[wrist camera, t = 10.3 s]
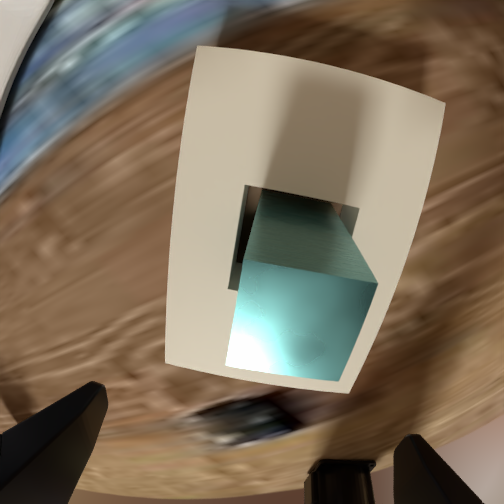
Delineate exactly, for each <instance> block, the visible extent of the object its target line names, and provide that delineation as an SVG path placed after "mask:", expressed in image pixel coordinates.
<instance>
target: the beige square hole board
mask: <svg viewBox="0 0 504 504" xmlns="http://www.w3.org/2000/svg"><path fill="white" fill-rule="evenodd" d="M445 104H446V103H444V102H441V101H439V100H436V99H434V98H431V97H429V96H426V95H424V94H421V93H419V92H416V91H413V90H410V89H408V88H405V87H402V86H399V85H396V84H393V83H390V82H387V81H384V80H381V79H378V78H374V77H371V76H368V75H364V74H361V73H357V72H354V71H350V70H346V69H342V68H339V67H335V66H330V65H326V64H322V63H317V62H313V61H308V60H303V59H298V58H293V57H288V56H282V55H276V54H270V53H263V52H256V51H249V50H241V49H232V48H222V47H210V46H197V50H196V55H195V61H194V66H193V71H192V77H191V82H190V88H189V94H188V100H187V106H186V112H185V119H184V126H183V132H182V140H181V147H180V154H179V162H178V170H177V179H176V188H175V197H174V207H173V217H172V228H171V241H170V254H169V269H168V286H167V307H166V338H165V363H168V364H172V365H176V366H180V367H184V368H188V369H193V370H197V371H202V372H207V373H211V374H216V375H221V376H226V377H231V378H237V379H242V380H248V381H254V382H260V383H266V384H272V385H279V386H286V387H293V388H301V389H309V390H317V391H327V392H337V393H348V394H349V392H350V390H351V388H352V386H353V384H354V382H355V380H356V378H357V376H358V374H359V372H360V370H361V368H362V366H363V364H364V362H365V360H366V357H367V355H368V353H369V351H370V349H371V347H372V344H373V342H374V340H375V338H376V335H377V333H378V331H379V328H380V326H381V324H382V321H383V319H384V317H385V314H386V312H387V309H388V307H389V304H390V302H391V299H392V297H393V294H394V291H395V289H396V286H397V284H398V281H399V278H400V275H401V273H402V270H403V267H404V264H405V261H406V258H407V256H408V253H409V250H410V247H411V244H412V240H413V237H414V234H415V231H416V228H417V224H418V221H419V218H420V214H421V211H422V207H423V204H424V200H425V197H426V193H427V189H428V185H429V181H430V177H431V173H432V169H433V165H434V161H435V156H436V152H437V147H438V142H439V137H440V132H441V127H442V122H443V116H444V110H445ZM249 185H250V186H256V187H261V188H267V189H272V190H277V191H282V192H287V193H292V194H297V195H302V196H307V197H312V198H317V199H321V200H326V201H331V202H335V203H340V204H343V206H342V210H341V214H340V219H341V221H342V222H343V224H344V226H345V227H346V229H347V230H348V232H349V234H350V235H351V237H352V239H353V240H354V242H355V244H356V245H357V247H358V249H359V250H360V252H361V254H362V256H363V257H364V259H365V261H366V262H367V264H368V266H369V268H370V269H371V271H372V273H373V275H374V276H375V278H376V280H377V282H378V286H377V289H376V292H375V295H374V297H373V300H372V303H371V305H370V308H369V311H368V313H367V316H366V318H365V321H364V324H363V326H362V329H361V331H360V334H359V336H358V338H357V341H356V343H355V346H354V348H353V350H352V353H351V355H350V357H349V360H348V362H347V364H346V366H345V369H344V371H343V373H342V375H341V378H340V380H339V382H337V381H327V380H318V379H310V378H302V377H295V376H287V375H281V374H274V373H267V372H261V371H255V370H249V369H244V368H238V367H233V366H228V365H226V361H227V355H228V349H229V343H230V337H231V331H232V325H233V319H234V313H235V307H236V301H237V295H238V289H239V283H240V277H241V271H242V265H243V263H238V262H236V260H237V254H238V248H239V242H240V236H241V230H242V224H243V218H244V212H245V207H246V201H247V195H248V189H249Z"/></svg>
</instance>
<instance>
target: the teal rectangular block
mask: <svg viewBox="0 0 504 504" xmlns="http://www.w3.org/2000/svg"><path fill="white" fill-rule="evenodd" d="M377 286H378V282H377V280H376V278H375V276H374V275H373V273H372V271H371V269H370V268H369V266H368V264H367V262H366V261H365V259H364V257H363V256H362V254H361V252H360V250H359V249H358V247H357V245H356V244H355V242H354V240H353V239H352V237H351V235H350V234H349V232H348V230H347V229H346V227H345V226H344V224H343V222H342V221H341V219H340V217H339V216H338V214H337V213H336V211H335V209H334V208H333V206H332V205H331V203H327V202H322V201H317V200H313V199H308V198H303V197H298V196H293V195H287V194H282V193H277V192H272V191H266V190H262V192H261V196H260V200H259V203H258V207H257V211H256V214H255V218H254V222H253V226H252V229H251V233H250V237H249V240H248V244H247V248H246V252H245V255H244V259H243V265H242V271H241V277H240V283H239V289H238V295H237V301H236V307H235V313H234V319H233V325H232V331H231V337H230V343H229V349H228V355H227V361H226V365H228V366H233V367H238V368H244V369H249V370H255V371H261V372H267V373H274V374H281V375H287V376H295V377H302V378H310V379H318V380H327V381H337V382H339V380H340V378H341V375H342V373H343V371H344V369H345V366H346V364H347V362H348V360H349V357H350V355H351V353H352V350H353V348H354V346H355V343H356V341H357V338H358V336H359V334H360V331H361V329H362V326H363V324H364V321H365V318H366V316H367V313H368V311H369V308H370V305H371V303H372V300H373V297H374V295H375V292H376V289H377Z"/></svg>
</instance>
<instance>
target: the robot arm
mask: <svg viewBox="0 0 504 504" xmlns="http://www.w3.org/2000/svg"><path fill="white" fill-rule="evenodd" d="M107 409H108V399H107V393H106V388H105V386H104V385H103V384H100V383H97V382H95V381H91V382H89V383H87V384H85V385H84V386H82V387H80V388H79V389H77V390H75V391H73V392H72V393H70V394H68V395H67V396H65V397H63V398H62V399H60V400H58V401H57V402H55V403H53V404H52V405H50V406H48V407H46V408H45V409H43V410H41V411H40V412H38V413H36V414H34V415H33V416H31V417H29V418H28V419H26V420H24V421H22V422H21V423H19V424H17V425H15V426H14V427H12V428H10V429H8V430H7V431H5V432H3V433H2V434H0V504H68V502H69V500H70V497H71V495H72V493H73V491H74V489H75V487H76V485H77V483H78V480H79V478H80V476H81V474H82V472H83V470H84V468H85V466H86V464H87V462H88V460H89V458H90V456H91V453H92V451H93V449H94V446H95V443H96V440H97V437H98V434H99V431H100V429H101V426H102V423H103V420H104V417H105V415H106V412H107ZM393 457H394V487H393V488H394V489H393V490H394V504H484V503H482V501H481V500H480V499H479V497H478V496H477V495H476V494H475V493H474V492H473V491H472V490H471V489H470V488H469V487H468V486H467V485H466V483H465V482H464V481H463V480H462V479H461V478H460V477H459V476H458V475H457V474H456V473H455V472H454V471H453V470H452V469H451V467H450V466H449V465H447V463H446V462H445V461H444V460H443V459H442V458H441V457H440V456H439V455H438V454H437V453H436V451H435V450H434V449H433V448H432V447H431V446H430V445H429V444H428V443H427V442H426V441H425V440H424V438H423V437H422V436H421V435H419V434H408V435H406V436H405V437H404V439H403V440H402V441H401V442H400V444H399V445H398V446H397V447H396V449H395V451H394V456H393ZM375 466H376V461H342V460H322V461H320V462H319V463H318V465H317V466H316V468H315V469H314V471H313V472H311V473H310V475H309V476H308V478H307V479H306V480H305V482H304V504H375V500H374V493H373V486H372V480H371V474H370V472H371V470H372V469H373V468H374V467H375Z"/></svg>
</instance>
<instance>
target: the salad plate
mask: <svg viewBox="0 0 504 504" xmlns="http://www.w3.org/2000/svg"><path fill="white" fill-rule="evenodd" d="M54 1H55V0H0V117H1V114H2V111H3V108H4V105H5V102H6V99H7V97H8V94H9V91H10V88H11V86H12V83H13V81H14V78H15V76H16V74H17V72H18V69H19V67H20V65H21V63H22V61H23V58H24V56H25V54H26V52H27V50H28V48H29V46H30V44H31V42H32V41H33V39H34V37H35V35H36V33H37V32H38V30H39V28H40V26H41V24H42V23H43V21H44V19H45V18H46V16H47V14H48V12H49V10H50V9H51V7H52V5H53V3H54Z"/></svg>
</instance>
